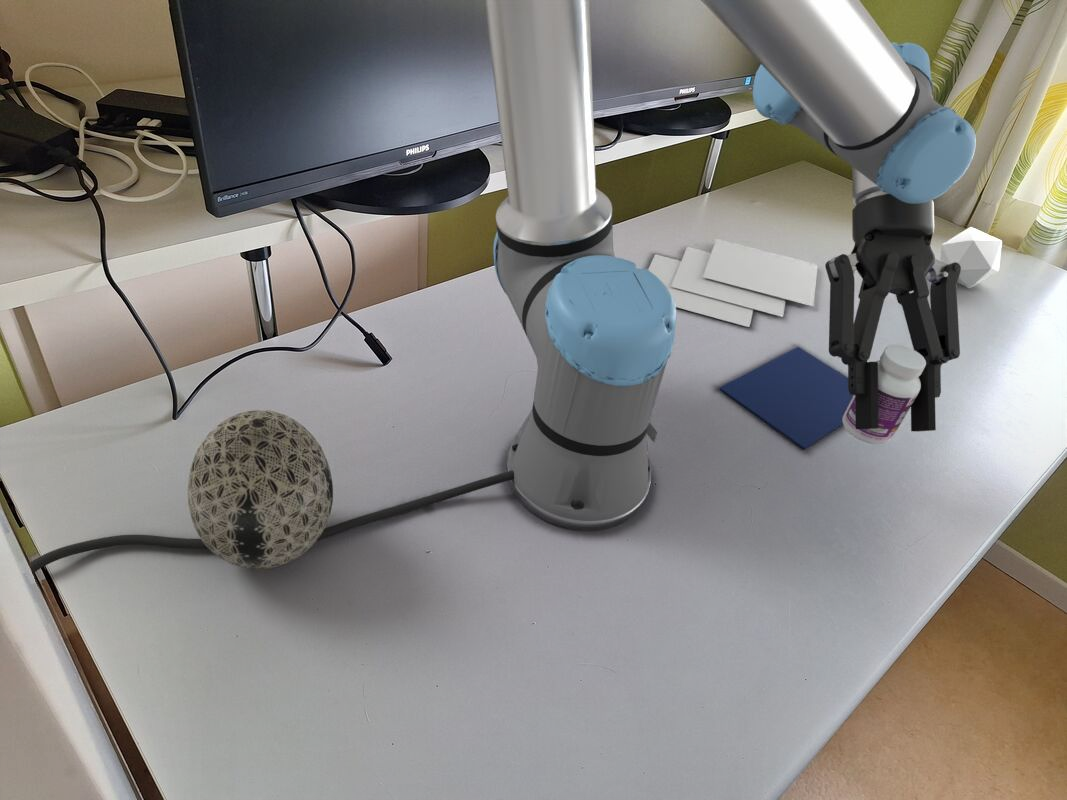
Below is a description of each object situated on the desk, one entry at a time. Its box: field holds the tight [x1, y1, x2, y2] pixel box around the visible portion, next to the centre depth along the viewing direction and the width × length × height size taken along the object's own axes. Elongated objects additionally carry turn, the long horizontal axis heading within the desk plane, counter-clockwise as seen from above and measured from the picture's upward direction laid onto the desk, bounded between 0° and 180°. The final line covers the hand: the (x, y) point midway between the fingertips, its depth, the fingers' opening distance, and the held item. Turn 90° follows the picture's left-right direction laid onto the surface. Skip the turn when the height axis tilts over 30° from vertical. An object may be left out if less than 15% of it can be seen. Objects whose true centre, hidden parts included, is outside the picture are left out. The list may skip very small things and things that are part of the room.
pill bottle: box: [842, 344, 926, 446], centre depth 77 cm, size 5×5×10 cm
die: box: [939, 226, 1003, 289], centre depth 124 cm, size 8×9×10 cm
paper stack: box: [647, 238, 819, 328], centre depth 117 cm, size 23×25×1 cm
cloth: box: [718, 346, 853, 450], centre depth 97 cm, size 17×13×1 cm
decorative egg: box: [187, 409, 334, 570], centre depth 65 cm, size 12×12×15 cm
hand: (895, 429), depth 75 cm, fingers closed on pill bottle, 5 cm apart
